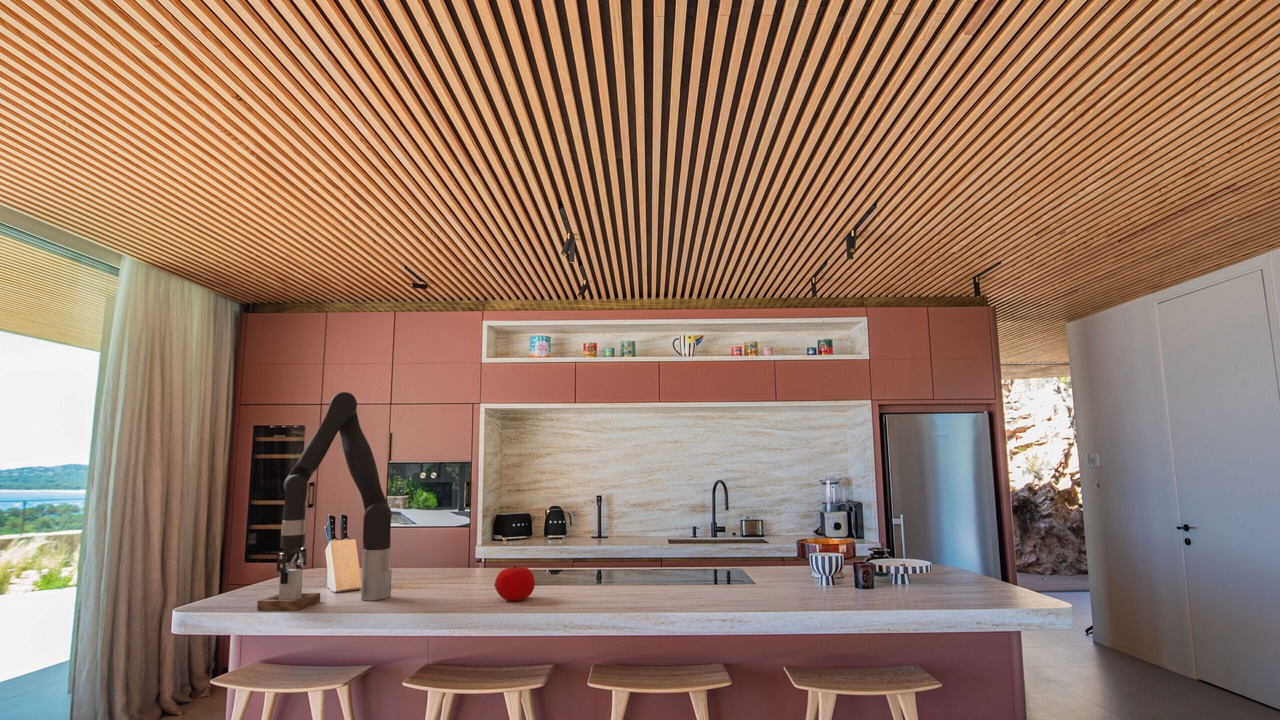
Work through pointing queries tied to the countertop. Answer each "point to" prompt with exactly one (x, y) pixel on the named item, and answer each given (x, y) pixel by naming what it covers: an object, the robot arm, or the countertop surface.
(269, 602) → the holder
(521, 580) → the tomato
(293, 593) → the skincare box
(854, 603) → the countertop surface
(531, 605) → the countertop surface
